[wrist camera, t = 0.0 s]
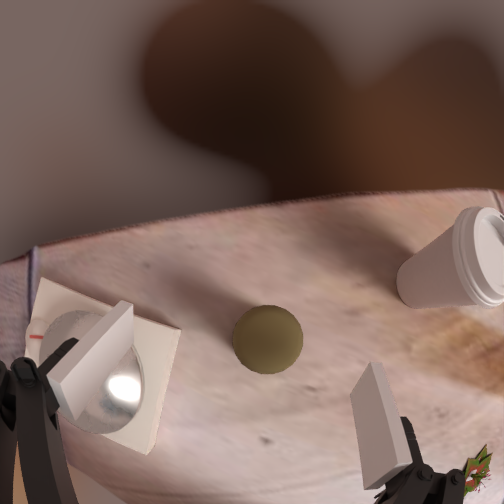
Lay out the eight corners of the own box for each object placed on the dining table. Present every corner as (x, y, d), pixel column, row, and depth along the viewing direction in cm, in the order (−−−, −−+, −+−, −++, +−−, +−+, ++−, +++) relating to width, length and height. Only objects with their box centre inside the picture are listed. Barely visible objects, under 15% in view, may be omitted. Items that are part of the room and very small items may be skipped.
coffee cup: (452, 290, 30) (532, 263, 16) (411, 336, 29) (500, 329, 14) (417, 234, 32) (489, 182, 18) (371, 274, 31) (450, 230, 16)
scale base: (154, 445, 24) (143, 458, 21) (35, 382, 25) (17, 384, 22) (181, 329, 29) (171, 329, 25) (54, 281, 29) (36, 275, 26)
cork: (222, 347, 28) (208, 357, 18) (250, 299, 30) (252, 281, 19) (272, 374, 27) (287, 397, 17) (299, 325, 29) (328, 321, 18)
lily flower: (488, 431, 24) (505, 436, 20) (493, 468, 21) (507, 473, 17) (439, 481, 22) (455, 490, 18) (448, 512, 19) (461, 520, 15)
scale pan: (134, 449, 20) (130, 453, 19) (40, 397, 21) (34, 399, 20) (158, 336, 24) (154, 336, 23) (58, 295, 25) (51, 293, 23)
